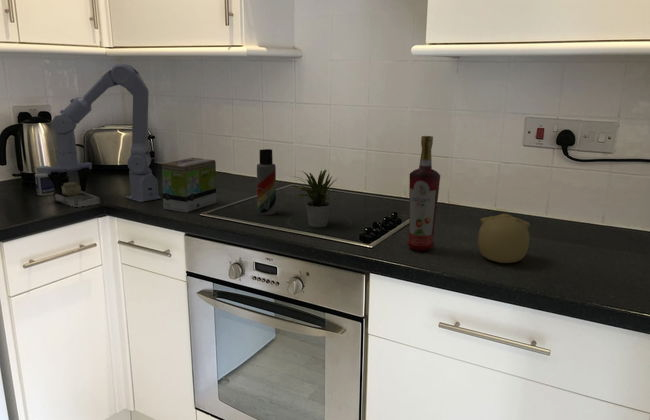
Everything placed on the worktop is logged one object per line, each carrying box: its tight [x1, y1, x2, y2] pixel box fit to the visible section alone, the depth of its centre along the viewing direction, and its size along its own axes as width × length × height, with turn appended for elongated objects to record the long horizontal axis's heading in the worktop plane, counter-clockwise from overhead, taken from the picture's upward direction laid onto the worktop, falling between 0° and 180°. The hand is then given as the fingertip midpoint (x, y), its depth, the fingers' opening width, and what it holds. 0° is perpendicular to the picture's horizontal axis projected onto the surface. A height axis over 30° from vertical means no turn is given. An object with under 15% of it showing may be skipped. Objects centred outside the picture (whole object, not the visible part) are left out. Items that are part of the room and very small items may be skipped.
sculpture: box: [477, 213, 531, 264], centre depth 124 cm, size 12×12×11 cm
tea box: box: [161, 157, 217, 213], centre depth 169 cm, size 15×10×15 cm, turn 155°
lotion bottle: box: [256, 148, 277, 216], centre depth 161 cm, size 6×6×20 cm
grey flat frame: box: [54, 191, 101, 208], centre depth 174 cm, size 15×8×2 cm, turn 49°
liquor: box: [406, 135, 441, 253], centre depth 128 cm, size 7×7×28 cm
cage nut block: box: [61, 181, 81, 197], centre depth 176 cm, size 4×4×6 cm
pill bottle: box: [34, 165, 55, 197], centre depth 183 cm, size 5×5×10 cm
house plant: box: [291, 169, 338, 228], centre depth 151 cm, size 14×14×16 cm
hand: (71, 192), depth 176 cm, fingers open, 7 cm apart
